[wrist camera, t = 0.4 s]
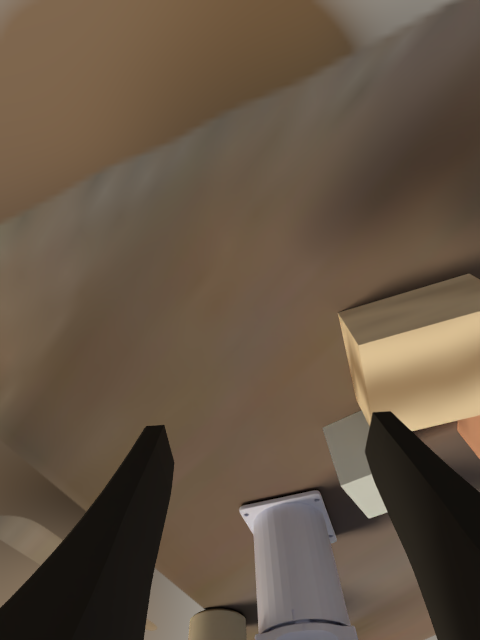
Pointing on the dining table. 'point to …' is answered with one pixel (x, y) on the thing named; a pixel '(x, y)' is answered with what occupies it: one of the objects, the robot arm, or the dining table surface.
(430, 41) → the dining table surface
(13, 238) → the dining table surface
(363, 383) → the maple block
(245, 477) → the dining table surface
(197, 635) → the travel mug
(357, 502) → the off-white cube
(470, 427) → the terracotta cube
